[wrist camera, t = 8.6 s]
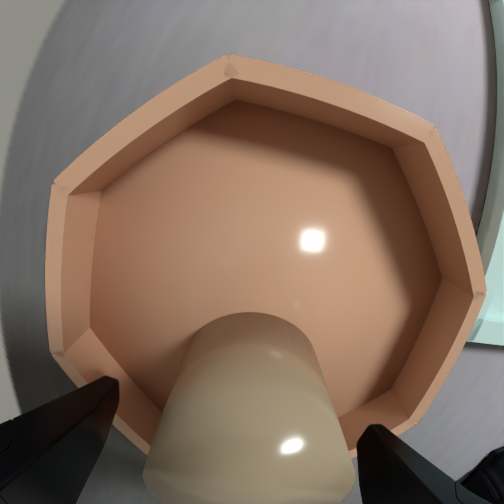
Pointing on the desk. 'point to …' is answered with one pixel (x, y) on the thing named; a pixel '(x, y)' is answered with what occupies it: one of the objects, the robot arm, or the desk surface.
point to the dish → (264, 242)
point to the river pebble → (249, 421)
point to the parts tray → (494, 212)
